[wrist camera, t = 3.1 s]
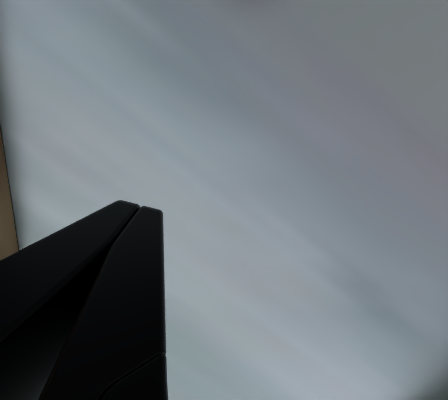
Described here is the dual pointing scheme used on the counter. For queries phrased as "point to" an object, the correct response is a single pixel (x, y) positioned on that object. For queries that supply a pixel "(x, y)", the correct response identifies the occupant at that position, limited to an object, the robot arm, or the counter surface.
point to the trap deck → (6, 212)
